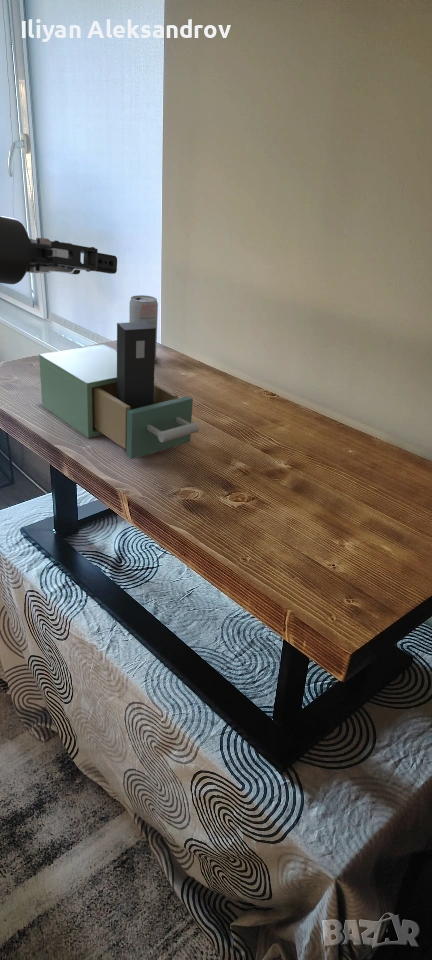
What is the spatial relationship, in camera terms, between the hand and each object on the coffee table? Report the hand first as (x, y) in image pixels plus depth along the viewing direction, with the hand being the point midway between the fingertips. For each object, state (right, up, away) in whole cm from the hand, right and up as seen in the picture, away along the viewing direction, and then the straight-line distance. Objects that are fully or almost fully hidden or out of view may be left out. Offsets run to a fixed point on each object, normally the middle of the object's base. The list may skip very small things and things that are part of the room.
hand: (96, 265), depth 83 cm
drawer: (+5, -23, +8) cm, 25 cm away
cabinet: (-3, -18, +16) cm, 25 cm away
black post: (+4, -21, +9) cm, 23 cm away
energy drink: (+1, -5, +41) cm, 41 cm away
